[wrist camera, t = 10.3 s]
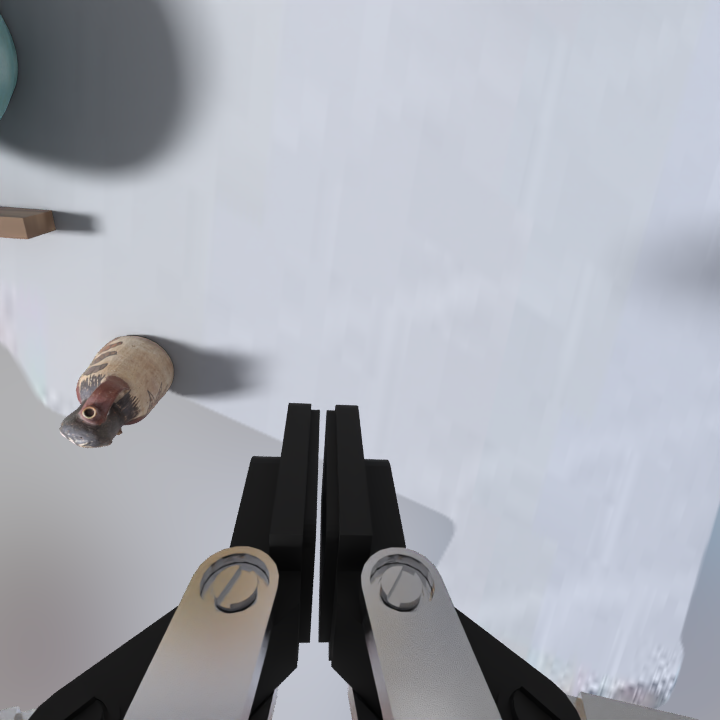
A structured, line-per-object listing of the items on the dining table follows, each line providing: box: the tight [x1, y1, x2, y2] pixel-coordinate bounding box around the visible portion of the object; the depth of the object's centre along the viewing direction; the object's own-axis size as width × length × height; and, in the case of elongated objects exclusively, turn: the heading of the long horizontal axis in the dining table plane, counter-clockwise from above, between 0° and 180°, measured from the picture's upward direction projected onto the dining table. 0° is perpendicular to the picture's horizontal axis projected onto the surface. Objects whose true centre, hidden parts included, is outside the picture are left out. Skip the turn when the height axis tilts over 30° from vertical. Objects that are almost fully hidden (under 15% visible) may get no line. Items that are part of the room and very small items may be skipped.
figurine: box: [60, 336, 174, 448], centre depth 39 cm, size 7×7×12 cm
